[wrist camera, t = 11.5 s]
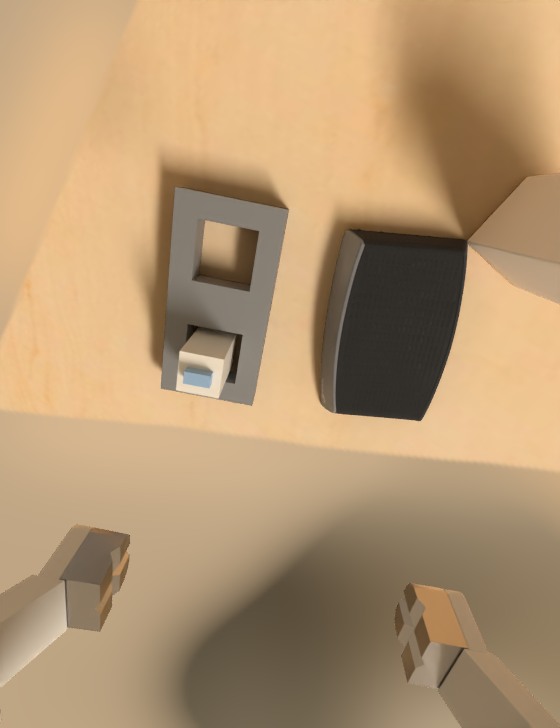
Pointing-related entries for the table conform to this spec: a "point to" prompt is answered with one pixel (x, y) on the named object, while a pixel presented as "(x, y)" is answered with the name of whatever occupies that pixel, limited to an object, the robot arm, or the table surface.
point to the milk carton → (526, 237)
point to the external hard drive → (390, 322)
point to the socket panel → (220, 286)
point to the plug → (206, 362)
